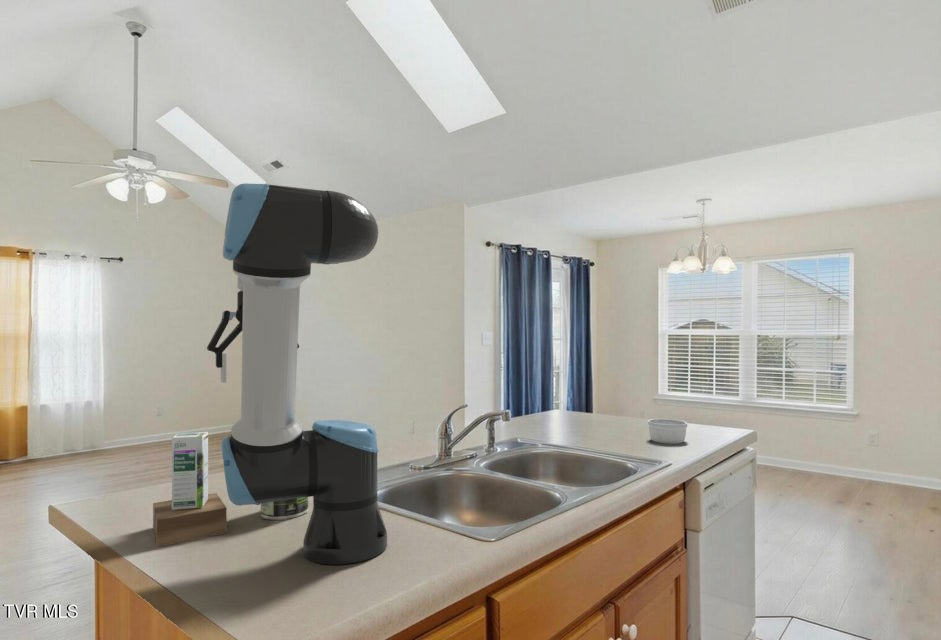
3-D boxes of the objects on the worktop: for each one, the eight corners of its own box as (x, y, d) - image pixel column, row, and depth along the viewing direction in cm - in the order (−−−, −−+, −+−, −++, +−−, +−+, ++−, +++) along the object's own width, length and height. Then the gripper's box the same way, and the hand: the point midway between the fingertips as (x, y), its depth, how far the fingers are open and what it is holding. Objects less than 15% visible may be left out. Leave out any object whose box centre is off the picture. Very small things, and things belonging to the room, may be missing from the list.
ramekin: (685, 438, 199) (685, 419, 199) (689, 445, 186) (689, 425, 186) (647, 436, 202) (647, 417, 202) (648, 443, 190) (648, 423, 190)
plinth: (226, 532, 108) (226, 507, 109) (157, 546, 102) (157, 519, 102) (216, 516, 118) (216, 493, 119) (153, 527, 112) (153, 503, 112)
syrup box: (170, 511, 107) (170, 437, 107) (178, 502, 113) (179, 431, 113) (202, 508, 108) (202, 435, 108) (208, 499, 114) (208, 430, 114)
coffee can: (317, 506, 125) (316, 444, 125) (293, 521, 115) (293, 454, 115) (276, 503, 127) (276, 443, 127) (250, 518, 117) (250, 453, 117)
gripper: (302, 293, 139) (302, 376, 138) (193, 289, 125) (193, 382, 124) (311, 291, 132) (312, 378, 132) (198, 287, 119) (198, 384, 118)
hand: (254, 380), depth 128 cm, fingers open, 13 cm apart
